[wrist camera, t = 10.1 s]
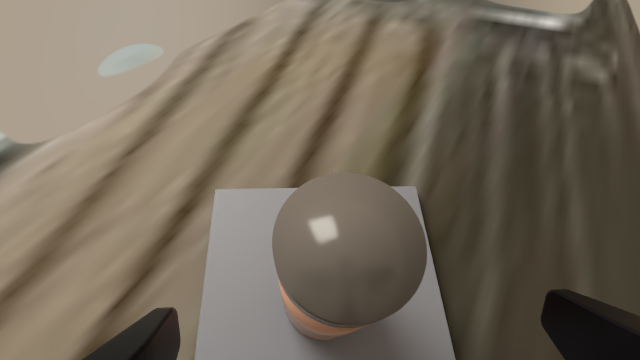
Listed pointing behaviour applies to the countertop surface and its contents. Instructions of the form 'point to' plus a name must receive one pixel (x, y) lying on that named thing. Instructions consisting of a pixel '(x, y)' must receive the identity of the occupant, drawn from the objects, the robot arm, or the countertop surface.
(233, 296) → the gray board
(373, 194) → the terracotta jar
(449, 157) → the countertop surface
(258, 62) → the countertop surface
